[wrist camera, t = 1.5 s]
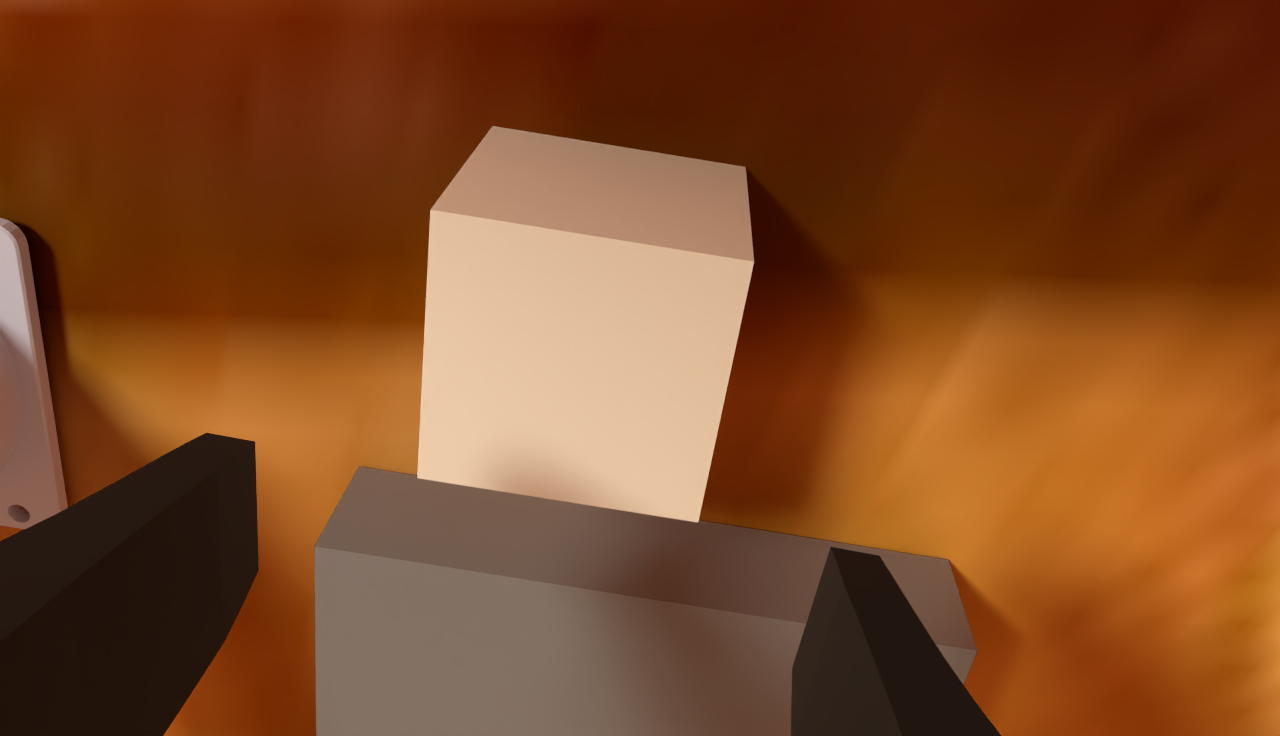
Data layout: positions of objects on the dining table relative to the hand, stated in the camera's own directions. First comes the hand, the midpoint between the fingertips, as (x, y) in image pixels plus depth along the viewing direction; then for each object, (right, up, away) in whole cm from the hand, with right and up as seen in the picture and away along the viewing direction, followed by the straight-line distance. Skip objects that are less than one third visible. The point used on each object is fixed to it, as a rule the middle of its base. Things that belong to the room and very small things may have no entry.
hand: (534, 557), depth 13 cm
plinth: (+1, -6, +14) cm, 15 cm away
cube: (+1, +5, +8) cm, 10 cm away
